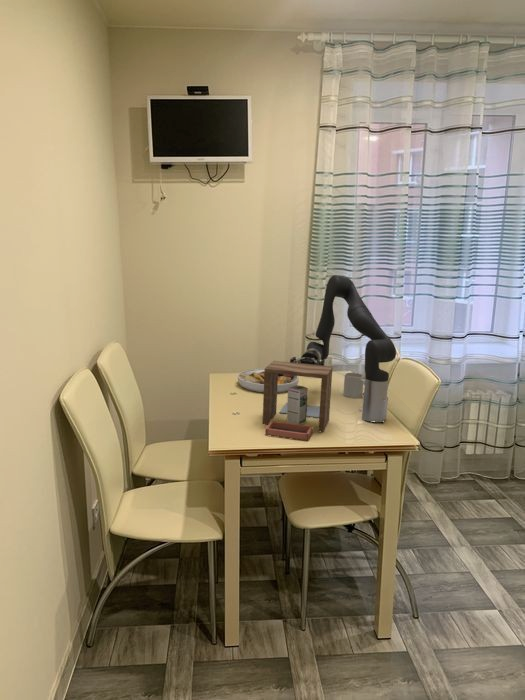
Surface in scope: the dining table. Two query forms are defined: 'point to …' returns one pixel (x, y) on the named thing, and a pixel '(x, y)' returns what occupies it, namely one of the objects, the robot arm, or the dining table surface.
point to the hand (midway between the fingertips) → (304, 366)
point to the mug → (353, 385)
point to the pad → (311, 411)
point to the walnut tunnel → (296, 370)
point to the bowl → (256, 380)
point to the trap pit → (289, 430)
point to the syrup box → (297, 405)
